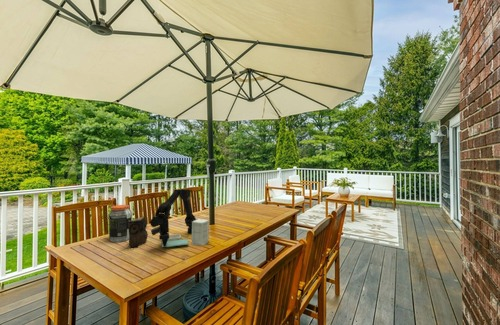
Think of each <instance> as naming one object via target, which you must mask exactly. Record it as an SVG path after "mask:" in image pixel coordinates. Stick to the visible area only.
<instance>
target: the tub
mask: <svg viewBox="0 0 500 325" xmlns="http://www.w3.org/2000/svg"><path fill="white" fill-rule="evenodd" d="M174 237H177V238H174ZM174 240H182V235H181V233H177V234H176V233H175V234H169V239H168V241H174Z"/></svg>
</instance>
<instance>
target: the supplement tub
mask: <svg viewBox="0 0 500 325" xmlns="http://www.w3.org/2000/svg"><path fill="white" fill-rule="evenodd" d="M110 210H111V211H110V212H109V213H108V236H109V237H108V238H109V241H110V242H113V243H119V242H121V243H122V242H125V241H129V221H132V220H133V219H132V218H133V216H132V210H131V209H130V205H129V204H117V205H112V206H110Z"/></svg>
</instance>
